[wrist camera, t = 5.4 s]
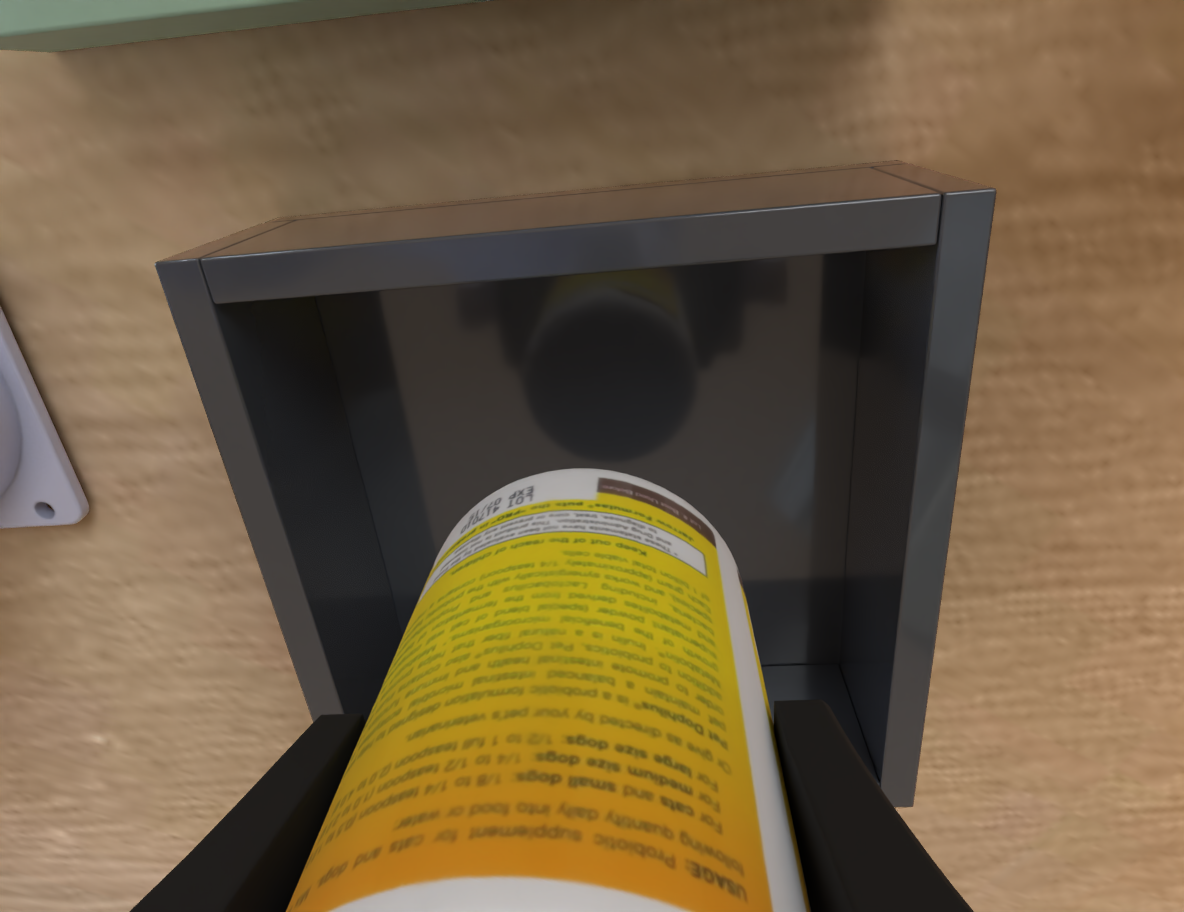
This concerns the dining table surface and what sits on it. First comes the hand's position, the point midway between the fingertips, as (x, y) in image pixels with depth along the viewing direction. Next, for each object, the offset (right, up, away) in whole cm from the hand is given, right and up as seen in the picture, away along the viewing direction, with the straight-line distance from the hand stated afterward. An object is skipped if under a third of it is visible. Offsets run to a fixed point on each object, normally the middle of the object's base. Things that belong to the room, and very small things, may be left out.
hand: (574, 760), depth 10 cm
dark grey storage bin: (+1, +4, +9) cm, 10 cm away
